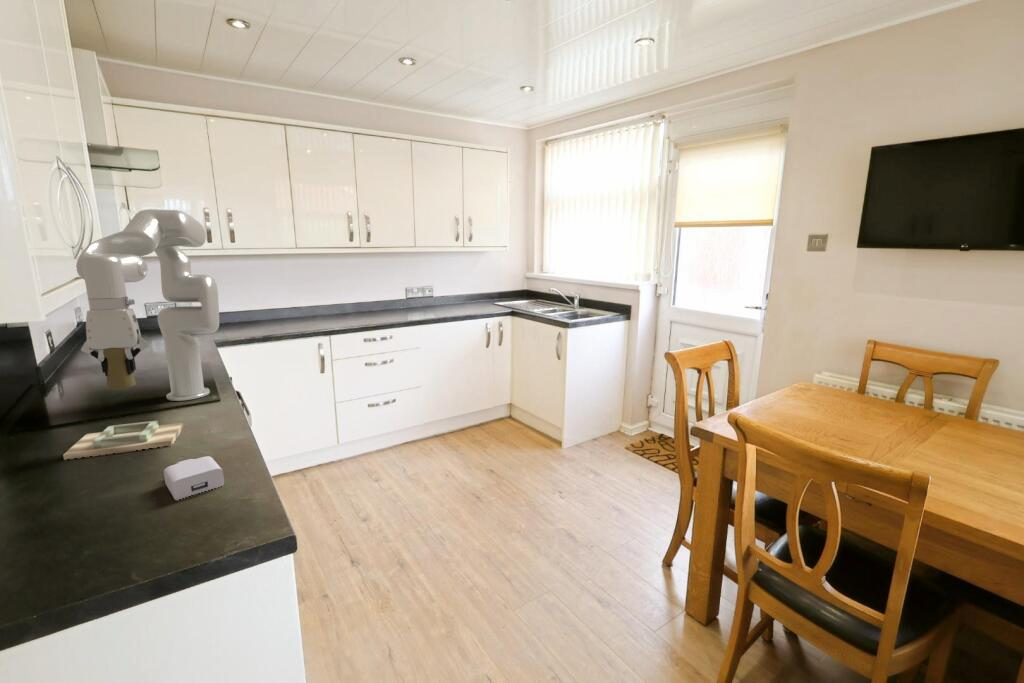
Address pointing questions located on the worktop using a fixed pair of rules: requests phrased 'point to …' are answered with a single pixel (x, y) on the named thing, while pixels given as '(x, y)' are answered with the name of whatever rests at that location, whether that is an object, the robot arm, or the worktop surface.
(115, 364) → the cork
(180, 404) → the worktop surface
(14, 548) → the worktop surface
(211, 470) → the charger
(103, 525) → the worktop surface
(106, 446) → the socket board
